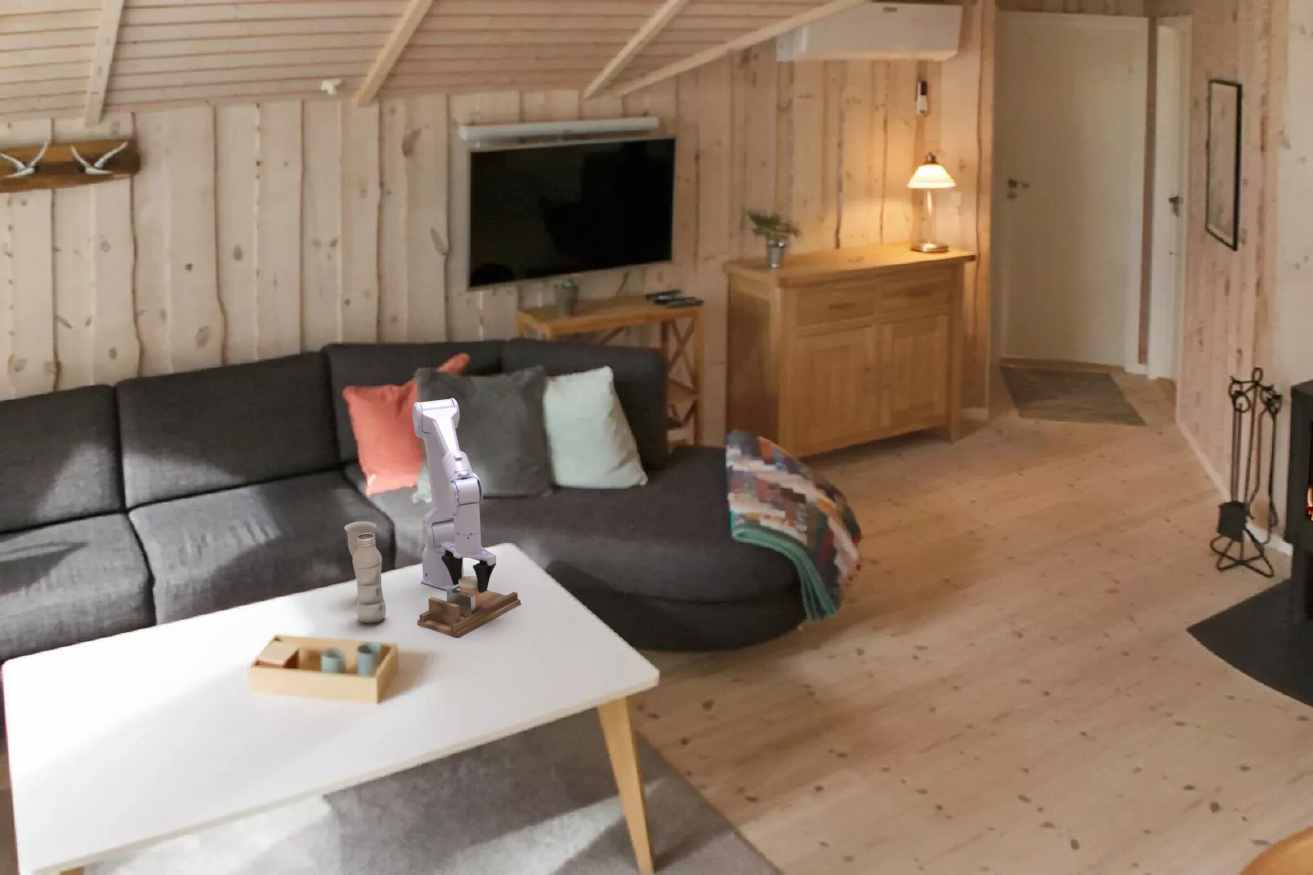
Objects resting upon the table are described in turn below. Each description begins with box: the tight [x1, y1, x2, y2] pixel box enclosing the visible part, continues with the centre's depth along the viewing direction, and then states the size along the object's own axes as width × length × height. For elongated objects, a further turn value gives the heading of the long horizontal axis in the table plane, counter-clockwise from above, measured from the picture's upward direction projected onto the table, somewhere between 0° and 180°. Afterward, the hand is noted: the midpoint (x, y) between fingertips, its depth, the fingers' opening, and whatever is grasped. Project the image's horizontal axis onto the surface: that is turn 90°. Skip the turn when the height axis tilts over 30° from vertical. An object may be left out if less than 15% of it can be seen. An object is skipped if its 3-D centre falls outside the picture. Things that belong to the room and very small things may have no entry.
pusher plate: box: [445, 588, 476, 617], centre depth 293 cm, size 7×2×5 cm, turn 56°
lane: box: [416, 589, 522, 639], centre depth 295 cm, size 12×21×6 cm, turn 146°
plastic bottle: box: [352, 533, 387, 624], centre depth 290 cm, size 6×7×20 cm
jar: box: [458, 575, 483, 611], centre depth 295 cm, size 5×5×7 cm
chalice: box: [344, 521, 378, 604], centre depth 301 cm, size 7×7×18 cm
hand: (470, 587), depth 295 cm, fingers open, 7 cm apart
